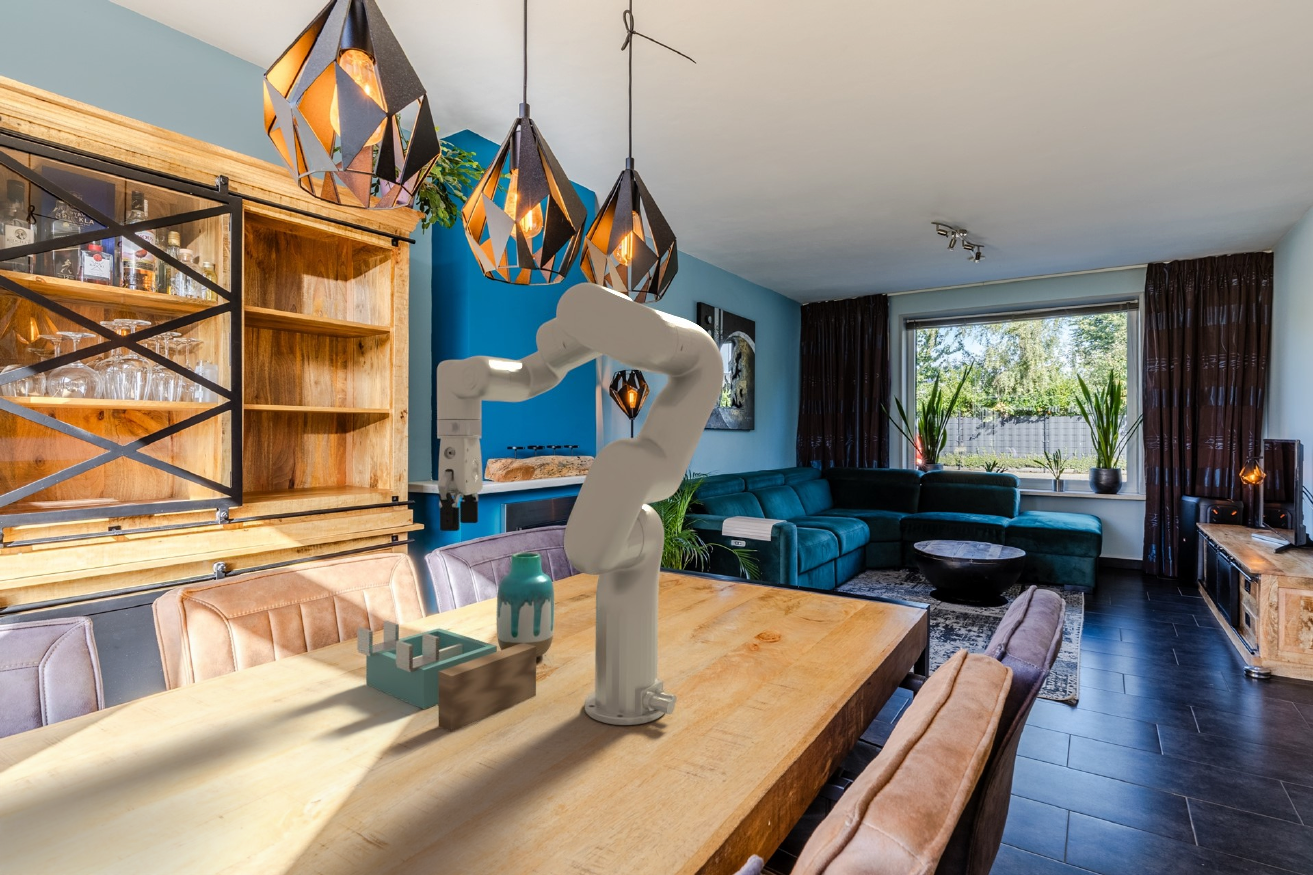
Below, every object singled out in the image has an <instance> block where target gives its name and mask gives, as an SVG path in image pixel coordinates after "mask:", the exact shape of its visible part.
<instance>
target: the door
mask: <svg viewBox="0 0 1313 875" xmlns="http://www.w3.org/2000/svg"><path fill="white" fill-rule="evenodd" d="M536 696H537V658H536V646H533V645H529V644H526V643H521V644H518V645H516V646H513V647H510V648H507V649H504V650H501V649H500V650H499V651H498V650H497V652H495V653H492V654H489V655H486V656H483V657H480V658H477V659H474V660H471V661H468V662H465V663H462V664H459V665H456V666H453V667H451V668H448V669H445V670H442V671H439V704H438V727H439V728H441V729H444V730H446V731H447V732H450V733H452V732H455V731H458V730H460V729H462V728H465V727H467V726H469V725H471V724H474V723H475V722H478V721H480V720H483V719H486V718H487V717H490V716H491V715H494V714H497V713H499V712H502V711H504V710H507V709H508V708H510V707H513V706H515V705H518V704H520V703H522V702H525V701H527V700H529V699H531V698H535V697H536Z"/></svg>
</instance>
